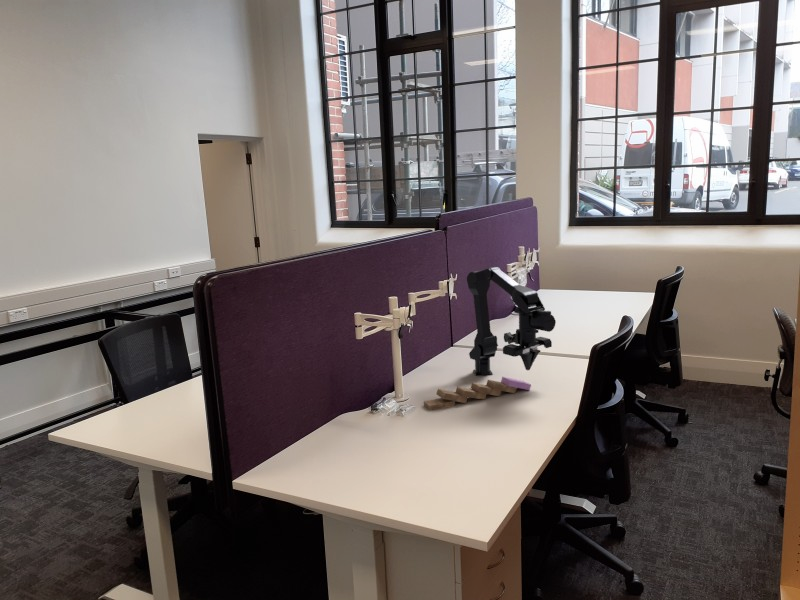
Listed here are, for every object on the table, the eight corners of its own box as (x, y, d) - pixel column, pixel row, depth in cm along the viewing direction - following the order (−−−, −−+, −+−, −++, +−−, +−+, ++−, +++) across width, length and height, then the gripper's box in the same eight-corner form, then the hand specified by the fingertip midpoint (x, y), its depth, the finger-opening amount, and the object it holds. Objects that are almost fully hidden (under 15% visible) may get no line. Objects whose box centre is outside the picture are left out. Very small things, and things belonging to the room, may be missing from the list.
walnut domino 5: (508, 383, 215) (487, 379, 211) (516, 387, 210) (495, 383, 207) (507, 389, 215) (486, 385, 211) (515, 393, 211) (493, 389, 207)
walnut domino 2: (460, 393, 208) (437, 388, 204) (467, 397, 203) (444, 393, 200) (458, 398, 208) (436, 394, 204) (466, 403, 203) (443, 398, 200)
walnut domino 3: (479, 389, 211) (456, 386, 207) (486, 393, 206) (464, 390, 202) (477, 395, 211) (455, 392, 207) (485, 399, 206) (462, 396, 202)
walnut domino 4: (493, 386, 213) (472, 382, 209) (501, 390, 208) (479, 386, 205) (492, 392, 213) (470, 387, 209) (499, 396, 208) (477, 392, 205)
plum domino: (523, 380, 217) (502, 376, 214) (531, 384, 213) (510, 380, 209) (521, 386, 217) (500, 382, 214) (529, 390, 213) (508, 386, 209)
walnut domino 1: (448, 396, 206) (423, 401, 203) (454, 401, 202) (430, 405, 198) (448, 402, 207) (423, 406, 203) (454, 406, 202) (430, 411, 199)
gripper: (529, 318, 223) (529, 360, 226) (491, 327, 213) (492, 370, 216) (552, 323, 214) (552, 366, 217) (514, 333, 204) (515, 377, 207)
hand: (527, 370), depth 214 cm, fingers closed
